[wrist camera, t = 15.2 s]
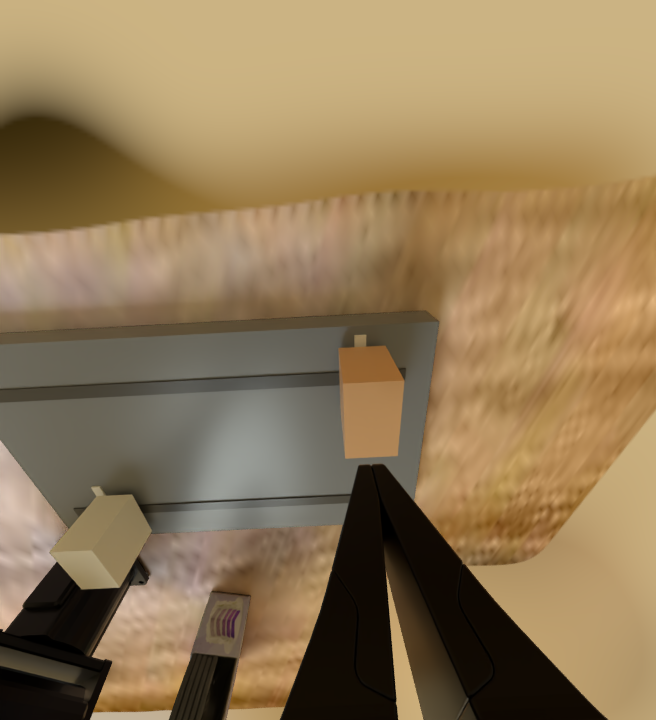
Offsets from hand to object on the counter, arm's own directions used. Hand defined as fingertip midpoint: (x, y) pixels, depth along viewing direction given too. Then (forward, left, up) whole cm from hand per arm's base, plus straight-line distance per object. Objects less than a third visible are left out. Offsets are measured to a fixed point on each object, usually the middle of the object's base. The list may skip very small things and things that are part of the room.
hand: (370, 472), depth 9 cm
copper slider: (0, -1, -6) cm, 6 cm away
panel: (-5, +8, -9) cm, 13 cm away
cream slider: (-10, +16, -6) cm, 20 cm away
